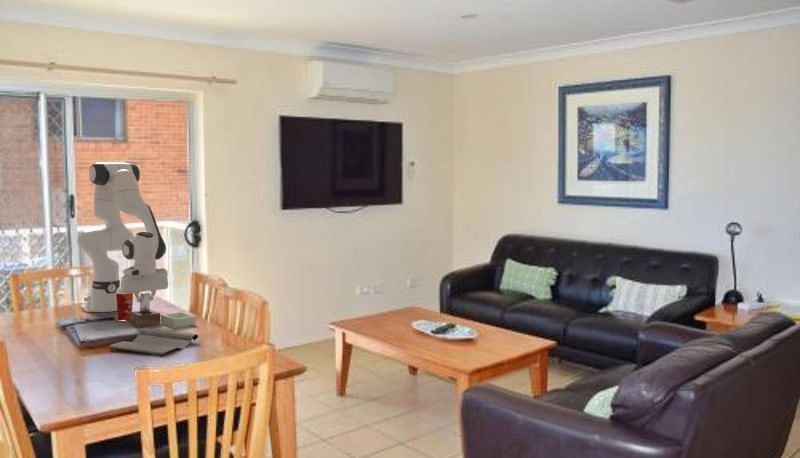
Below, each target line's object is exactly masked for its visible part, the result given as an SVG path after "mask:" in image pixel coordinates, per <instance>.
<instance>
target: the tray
mask: <svg viewBox="0 0 800 458" xmlns="http://www.w3.org/2000/svg"><path fill="white" fill-rule="evenodd" d="M195 324H196V325H197V316H196V315H194V314H190V313H187V312H184V311H177V312H169V313H163V314H160V325H165V326H167V327H170V328H172V329H178V328H186V327H191V326H190V325H193V326H196V325H195Z"/></svg>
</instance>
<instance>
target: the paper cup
mask: <svg viewBox="0 0 800 458" xmlns="http://www.w3.org/2000/svg"><path fill="white" fill-rule="evenodd" d="M115 293H116V298H117V311H116V312H117V313H116V314H117V321H118V320H126V321H128V322H130V312H133V302H134V292H133V293H123V292H122V291H121V288H120V289H117V290H116V292H115Z"/></svg>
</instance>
